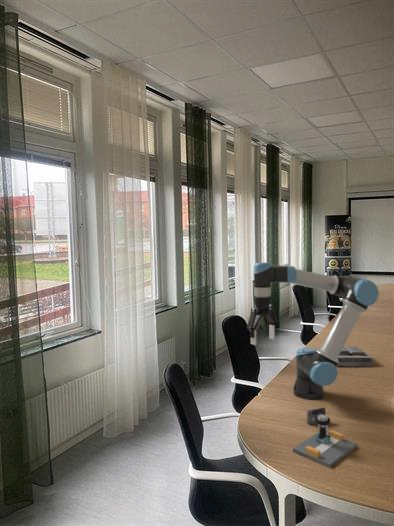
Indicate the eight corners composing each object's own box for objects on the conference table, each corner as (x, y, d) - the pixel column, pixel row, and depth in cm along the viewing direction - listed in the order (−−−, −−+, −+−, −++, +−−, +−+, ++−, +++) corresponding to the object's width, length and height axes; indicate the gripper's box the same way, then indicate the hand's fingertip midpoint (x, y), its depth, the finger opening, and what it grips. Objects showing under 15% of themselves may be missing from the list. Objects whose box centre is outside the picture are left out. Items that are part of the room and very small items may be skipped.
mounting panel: (321, 433, 164) (321, 425, 164) (356, 446, 153) (357, 438, 153) (292, 451, 151) (292, 443, 151) (329, 467, 140) (329, 458, 140)
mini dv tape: (323, 420, 176) (322, 407, 176) (325, 421, 175) (325, 408, 174) (307, 423, 173) (307, 410, 173) (309, 425, 172) (309, 411, 172)
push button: (335, 441, 155) (334, 415, 155) (332, 447, 151) (332, 421, 150) (317, 437, 159) (317, 412, 158) (314, 443, 154) (314, 418, 153)
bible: (323, 356, 271) (323, 341, 270) (366, 358, 264) (366, 343, 264) (326, 367, 248) (326, 351, 248) (373, 369, 242) (373, 353, 241)
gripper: (272, 292, 198) (272, 335, 199) (238, 298, 181) (239, 345, 182) (285, 293, 192) (285, 338, 193) (251, 300, 175) (252, 348, 177)
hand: (263, 341), depth 188 cm, fingers open, 13 cm apart
